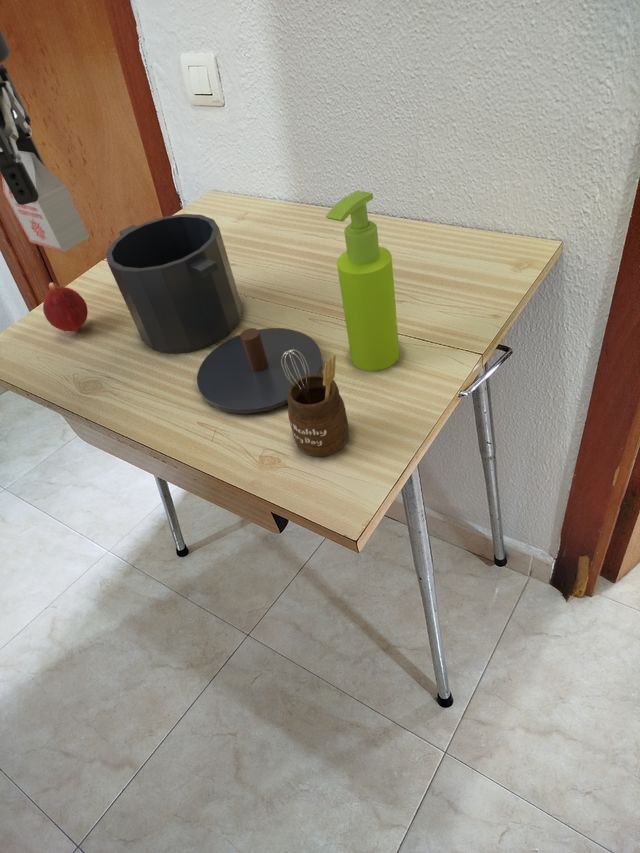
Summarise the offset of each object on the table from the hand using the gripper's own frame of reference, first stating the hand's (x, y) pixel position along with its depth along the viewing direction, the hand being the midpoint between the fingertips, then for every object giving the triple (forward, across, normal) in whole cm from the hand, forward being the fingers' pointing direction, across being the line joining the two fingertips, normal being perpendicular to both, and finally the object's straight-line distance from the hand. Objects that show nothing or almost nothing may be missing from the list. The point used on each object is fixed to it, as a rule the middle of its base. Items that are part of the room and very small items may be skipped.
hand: (33, 187), depth 64 cm
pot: (+24, -4, +11) cm, 26 cm away
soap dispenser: (+24, +15, +32) cm, 42 cm away
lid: (+23, +12, +18) cm, 32 cm away
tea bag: (+6, 0, 0) cm, 6 cm away
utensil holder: (+24, +26, +22) cm, 42 cm away
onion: (+24, -10, -6) cm, 27 cm away
